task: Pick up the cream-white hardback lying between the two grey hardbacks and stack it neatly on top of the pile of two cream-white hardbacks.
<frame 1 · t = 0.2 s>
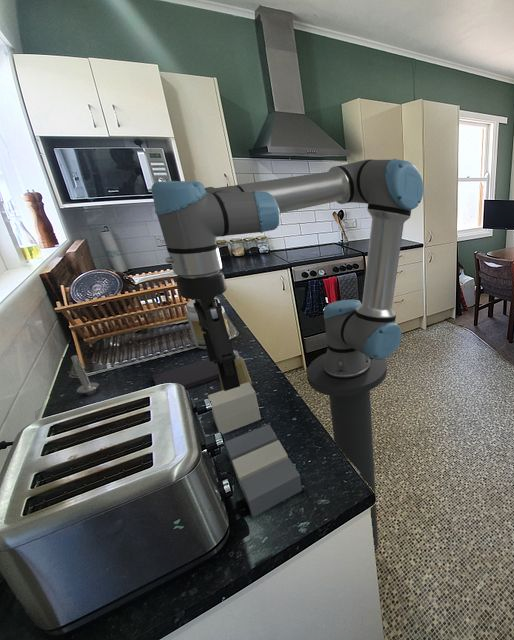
hand: (224, 372, 71), 24 cm above the counter, tool pointing down, fingers open, 13 cm apart
white book 2: (235, 407, 92), point 4 cm above the counter, touching white book 1
screw: (90, 393, 103), on the counter
grey book a: (273, 493, 73), on the counter
white book 1: (238, 421, 93), on the counter, touching white book 2
white book: (263, 472, 78), on the counter
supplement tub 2: (213, 343, 133), on the counter
grey book b: (254, 454, 83), on the counter
notebook: (196, 376, 113), on the counter
squeeze bottle: (239, 396, 104), on the counter
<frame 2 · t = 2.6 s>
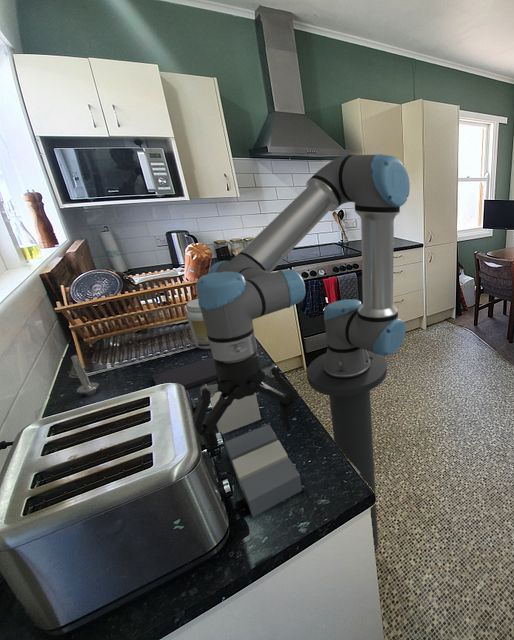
hand: (254, 441, 74), 9 cm above the counter, tool pointing down, fingers open, 13 cm apart
nothing on the counter moved.
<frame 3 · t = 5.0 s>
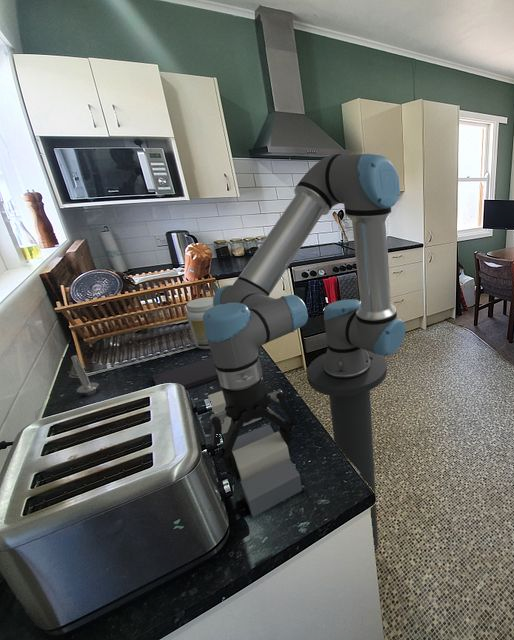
hand: (263, 463, 77), 2 cm above the counter, tool pointing down, fingers closed on white book, 10 cm apart
white book: (263, 464, 77), point 2 cm above the counter, touching gripper
everything else where it was.
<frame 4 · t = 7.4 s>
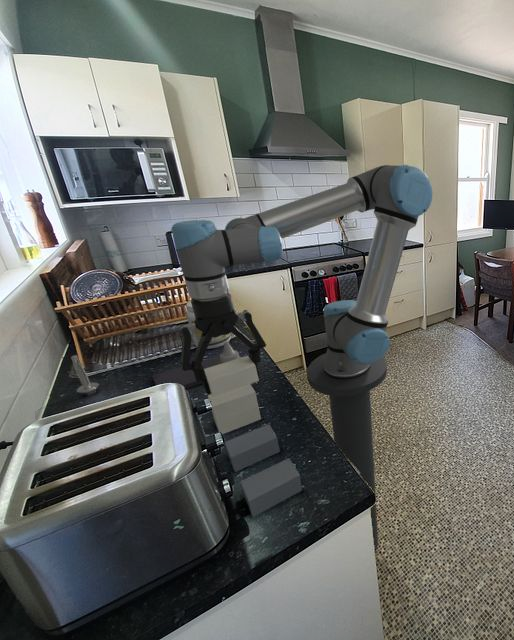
hand: (232, 382, 83), 15 cm above the counter, tool pointing down, fingers closed on white book, 10 cm apart
white book: (233, 383, 83), point 15 cm above the counter, touching gripper
everything else where it was.
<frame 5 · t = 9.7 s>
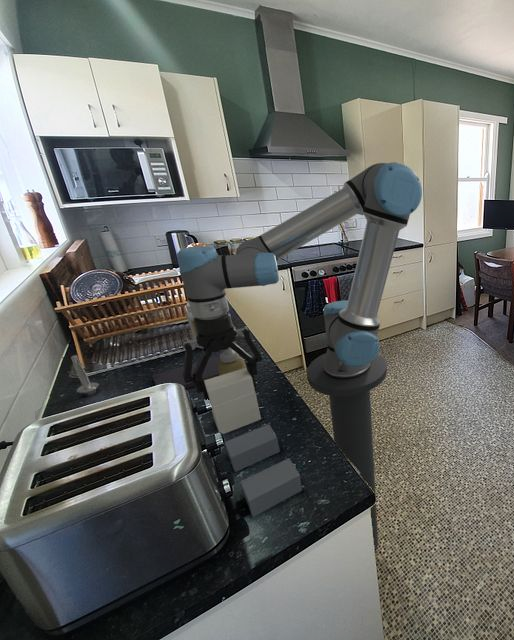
hand: (231, 393, 90), 9 cm above the counter, tool pointing down, fingers closed on white book, 10 cm apart
white book 2: (235, 407, 92), point 4 cm above the counter, touching gripper, white book, white book 1
white book: (231, 393, 90), point 9 cm above the counter, touching gripper, white book 2
everything else where it was.
when the fingers open (9 cm above the counter, at t = 10.0 s): white book stays where it is, resting on white book 2.
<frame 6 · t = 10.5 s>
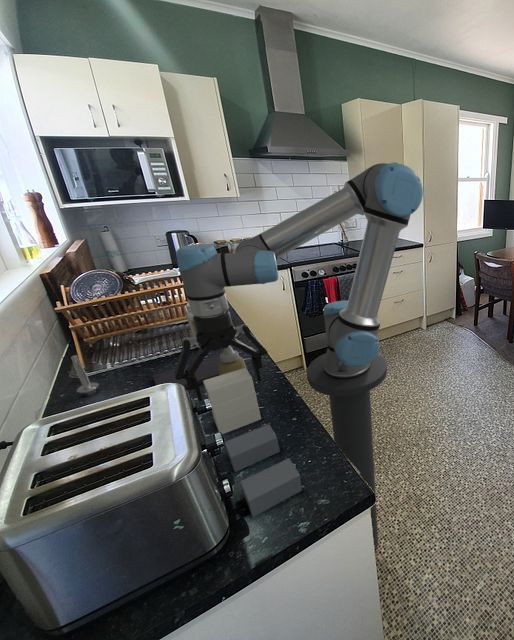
hand: (230, 388, 89), 11 cm above the counter, tool pointing down, fingers open, 13 cm apart
white book 2: (235, 407, 92), point 4 cm above the counter, touching white book, white book 1
white book: (231, 393, 90), point 9 cm above the counter, touching white book 2
everything else where it was.
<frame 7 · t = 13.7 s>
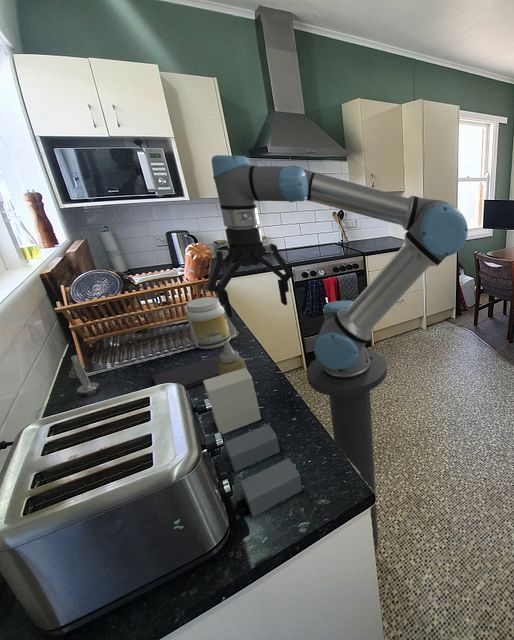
hand: (258, 309, 91), 29 cm above the counter, tool pointing down, fingers open, 13 cm apart
nothing on the counter moved.
at the end: white book 0.1 cm off-centre on the white book 1, point 9.0 cm above the white book 1's base; white book tilted 0°; grey book b moved 0.0 cm from its start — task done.
